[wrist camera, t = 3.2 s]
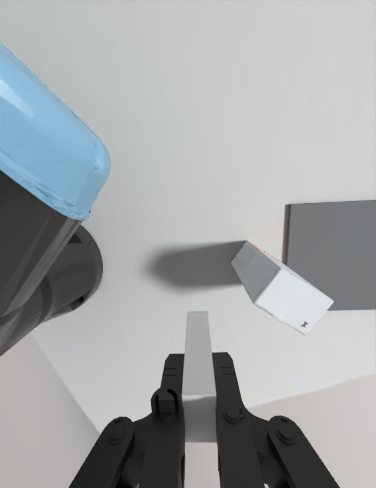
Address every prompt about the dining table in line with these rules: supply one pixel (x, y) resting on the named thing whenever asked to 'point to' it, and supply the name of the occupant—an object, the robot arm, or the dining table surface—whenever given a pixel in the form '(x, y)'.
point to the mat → (335, 250)
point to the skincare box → (279, 289)
